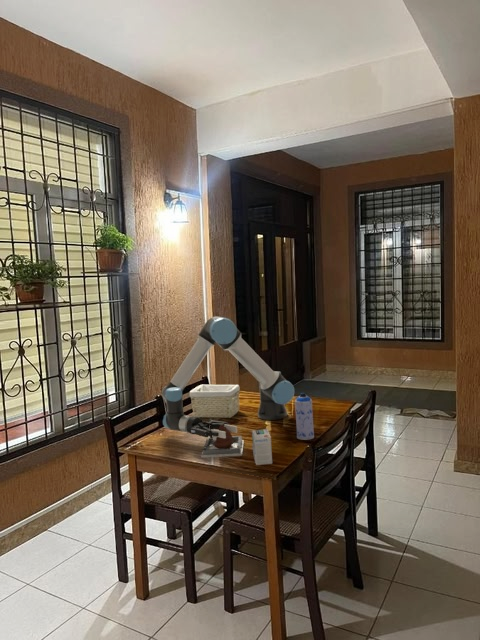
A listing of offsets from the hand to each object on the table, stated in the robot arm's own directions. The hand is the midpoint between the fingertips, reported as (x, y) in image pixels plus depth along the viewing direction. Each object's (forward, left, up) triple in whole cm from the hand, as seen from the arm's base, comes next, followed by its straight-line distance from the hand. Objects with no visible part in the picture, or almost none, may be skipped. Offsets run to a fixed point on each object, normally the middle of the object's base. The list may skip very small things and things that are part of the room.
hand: (230, 432), depth 205 cm
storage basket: (+12, -57, -9) cm, 59 cm away
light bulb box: (-13, +10, -9) cm, 19 cm away
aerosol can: (-32, -14, -9) cm, 36 cm away
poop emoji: (+4, -3, -7) cm, 8 cm away
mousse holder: (+4, -3, -8) cm, 10 cm away
